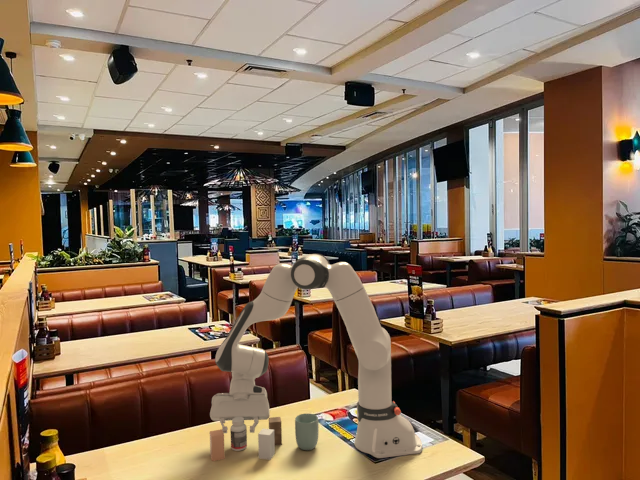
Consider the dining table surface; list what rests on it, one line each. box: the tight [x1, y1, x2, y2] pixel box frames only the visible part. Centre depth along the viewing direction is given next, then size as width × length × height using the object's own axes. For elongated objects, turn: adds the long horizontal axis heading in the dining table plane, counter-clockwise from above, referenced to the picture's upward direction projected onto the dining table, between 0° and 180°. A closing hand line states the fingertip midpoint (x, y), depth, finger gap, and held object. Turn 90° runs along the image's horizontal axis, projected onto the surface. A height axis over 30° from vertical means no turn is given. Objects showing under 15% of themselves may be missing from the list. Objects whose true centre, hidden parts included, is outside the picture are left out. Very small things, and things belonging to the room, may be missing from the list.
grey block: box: [257, 428, 276, 461], centre depth 153 cm, size 4×4×8 cm
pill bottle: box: [230, 417, 248, 452], centre depth 159 cm, size 5×5×10 cm
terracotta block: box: [209, 428, 226, 462], centre depth 153 cm, size 4×4×8 cm
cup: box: [294, 413, 320, 451], centre depth 158 cm, size 8×8×10 cm
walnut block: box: [268, 416, 283, 446], centre depth 162 cm, size 4×4×8 cm
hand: (238, 432), depth 158 cm, fingers open, 8 cm apart
